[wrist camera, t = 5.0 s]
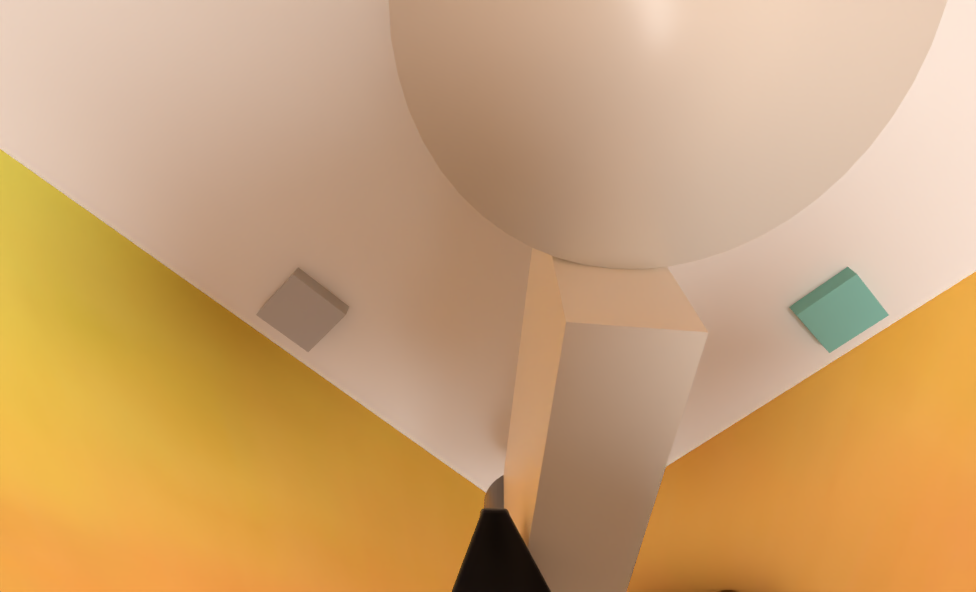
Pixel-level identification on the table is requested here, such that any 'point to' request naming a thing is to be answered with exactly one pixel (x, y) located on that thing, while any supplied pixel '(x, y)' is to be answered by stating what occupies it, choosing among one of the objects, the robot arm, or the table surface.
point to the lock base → (439, 209)
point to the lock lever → (634, 206)
